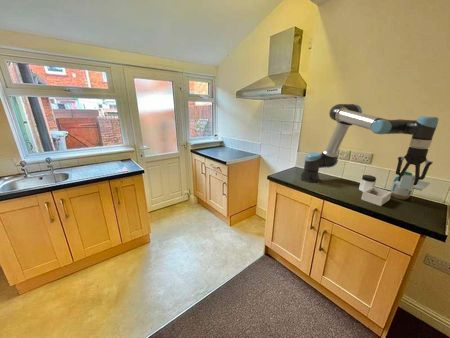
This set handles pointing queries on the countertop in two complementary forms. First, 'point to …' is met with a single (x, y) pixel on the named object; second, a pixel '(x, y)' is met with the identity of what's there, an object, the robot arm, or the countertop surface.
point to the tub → (376, 196)
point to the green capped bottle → (400, 190)
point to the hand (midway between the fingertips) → (405, 188)
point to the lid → (408, 180)
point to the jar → (367, 182)
